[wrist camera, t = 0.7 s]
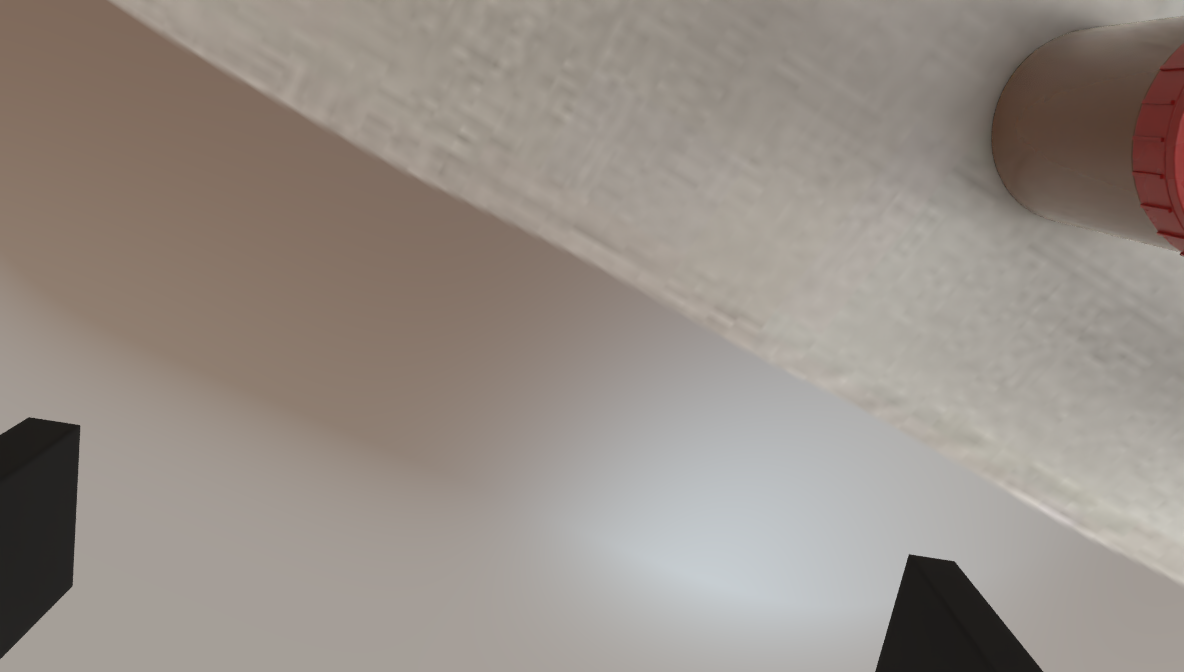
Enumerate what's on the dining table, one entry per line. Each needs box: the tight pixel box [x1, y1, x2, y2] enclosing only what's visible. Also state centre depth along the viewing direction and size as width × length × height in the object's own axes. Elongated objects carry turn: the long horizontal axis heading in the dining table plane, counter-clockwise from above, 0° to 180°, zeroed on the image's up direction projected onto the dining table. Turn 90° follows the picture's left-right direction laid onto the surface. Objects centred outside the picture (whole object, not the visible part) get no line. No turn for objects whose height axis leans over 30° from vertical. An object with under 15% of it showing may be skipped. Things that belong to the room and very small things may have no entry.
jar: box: [992, 16, 1184, 253], centre depth 30 cm, size 7×7×11 cm
